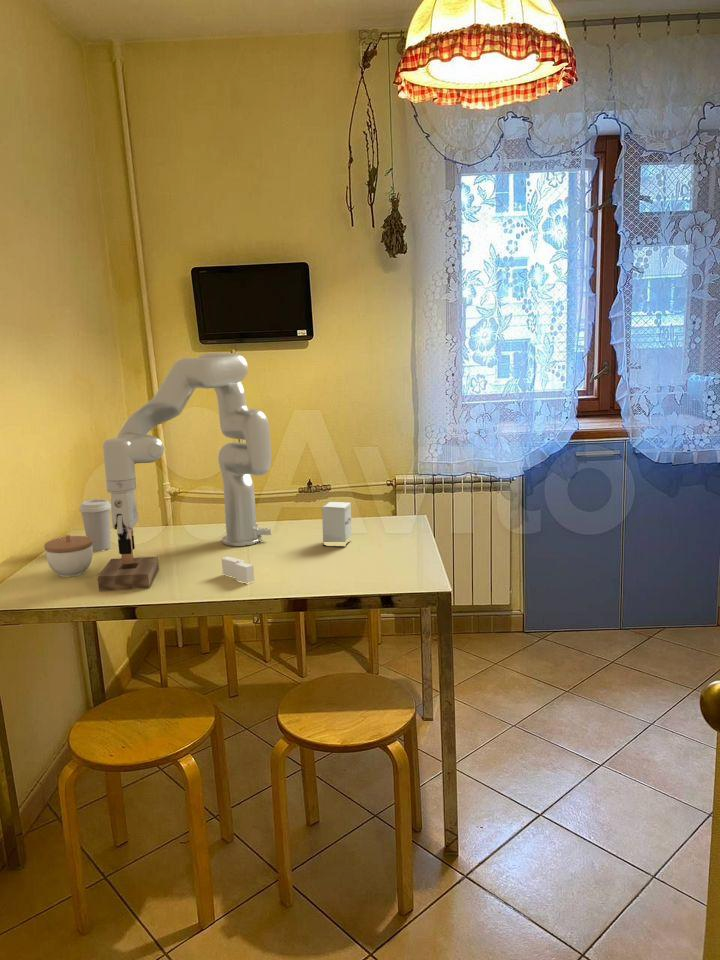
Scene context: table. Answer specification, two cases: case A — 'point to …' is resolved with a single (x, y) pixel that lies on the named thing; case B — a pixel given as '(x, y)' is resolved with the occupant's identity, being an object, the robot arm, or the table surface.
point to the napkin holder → (238, 569)
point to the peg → (128, 557)
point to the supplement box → (336, 521)
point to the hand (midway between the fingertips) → (127, 551)
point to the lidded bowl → (69, 555)
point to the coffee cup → (97, 522)
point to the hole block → (128, 574)
